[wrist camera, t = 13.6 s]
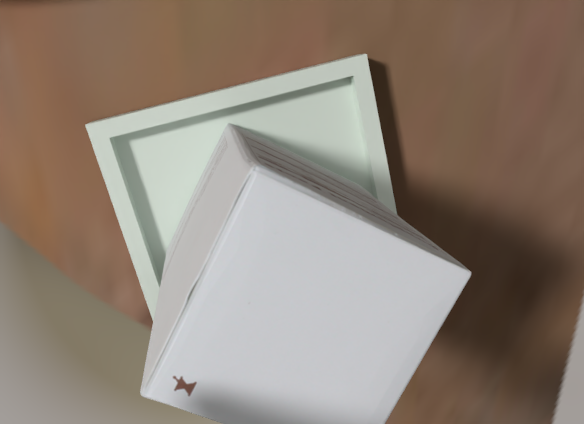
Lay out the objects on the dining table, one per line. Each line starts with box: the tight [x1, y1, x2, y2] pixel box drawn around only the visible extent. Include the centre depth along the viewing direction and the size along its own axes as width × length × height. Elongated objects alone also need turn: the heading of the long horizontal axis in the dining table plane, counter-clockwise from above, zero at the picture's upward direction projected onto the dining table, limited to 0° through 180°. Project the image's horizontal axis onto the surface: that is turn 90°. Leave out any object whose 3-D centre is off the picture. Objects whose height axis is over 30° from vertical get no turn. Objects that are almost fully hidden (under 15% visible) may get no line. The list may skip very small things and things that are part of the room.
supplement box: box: [140, 123, 472, 424], centre depth 21 cm, size 7×7×13 cm
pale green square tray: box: [85, 54, 397, 321], centre depth 27 cm, size 13×13×1 cm
